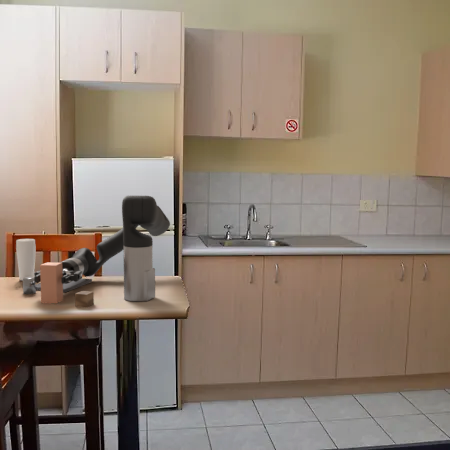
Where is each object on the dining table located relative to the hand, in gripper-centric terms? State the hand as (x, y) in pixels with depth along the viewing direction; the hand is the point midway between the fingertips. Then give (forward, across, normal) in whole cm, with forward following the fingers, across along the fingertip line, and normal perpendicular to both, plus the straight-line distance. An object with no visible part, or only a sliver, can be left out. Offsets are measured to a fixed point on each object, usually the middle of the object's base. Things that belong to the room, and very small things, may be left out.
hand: (49, 280), depth 169 cm
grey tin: (-12, +12, -7) cm, 19 cm away
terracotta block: (-2, 0, -7) cm, 7 cm away
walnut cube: (+1, -12, -7) cm, 14 cm away
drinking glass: (-32, +23, -7) cm, 40 cm away
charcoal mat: (-24, +6, -7) cm, 26 cm away
